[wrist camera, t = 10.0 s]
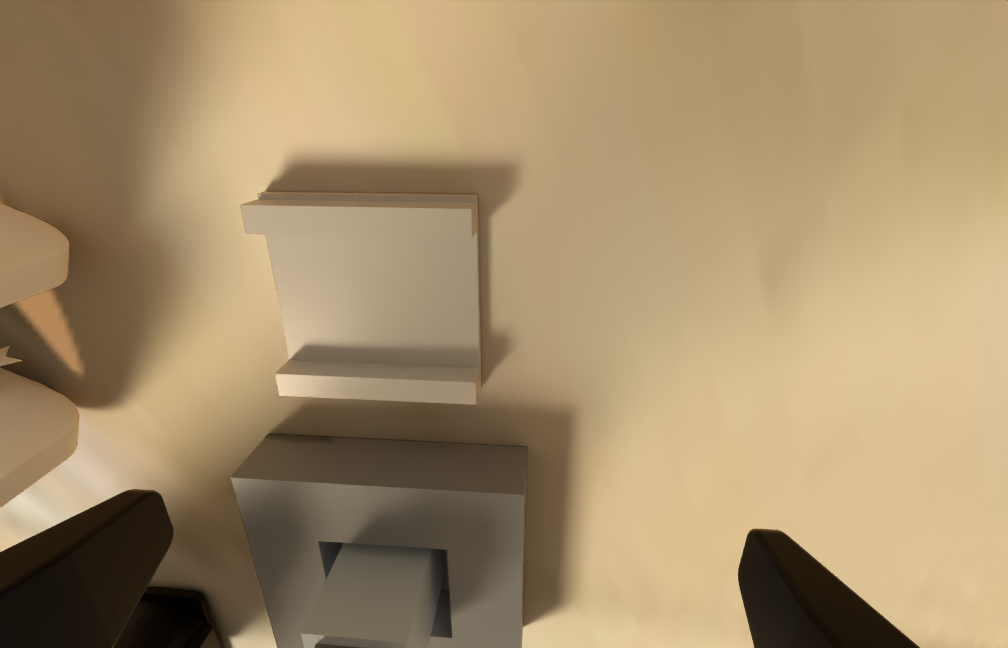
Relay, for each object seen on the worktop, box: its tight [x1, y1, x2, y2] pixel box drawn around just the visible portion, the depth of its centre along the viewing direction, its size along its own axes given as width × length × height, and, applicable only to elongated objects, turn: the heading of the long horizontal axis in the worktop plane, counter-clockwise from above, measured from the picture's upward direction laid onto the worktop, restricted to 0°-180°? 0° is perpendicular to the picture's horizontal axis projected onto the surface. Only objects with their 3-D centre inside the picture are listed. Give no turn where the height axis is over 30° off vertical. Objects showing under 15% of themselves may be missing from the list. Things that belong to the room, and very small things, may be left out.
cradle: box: [240, 191, 482, 405], centre depth 19 cm, size 8×8×2 cm
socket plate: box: [231, 434, 527, 648], centre depth 24 cm, size 12×12×3 cm
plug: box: [301, 543, 443, 648], centre depth 21 cm, size 4×4×8 cm
